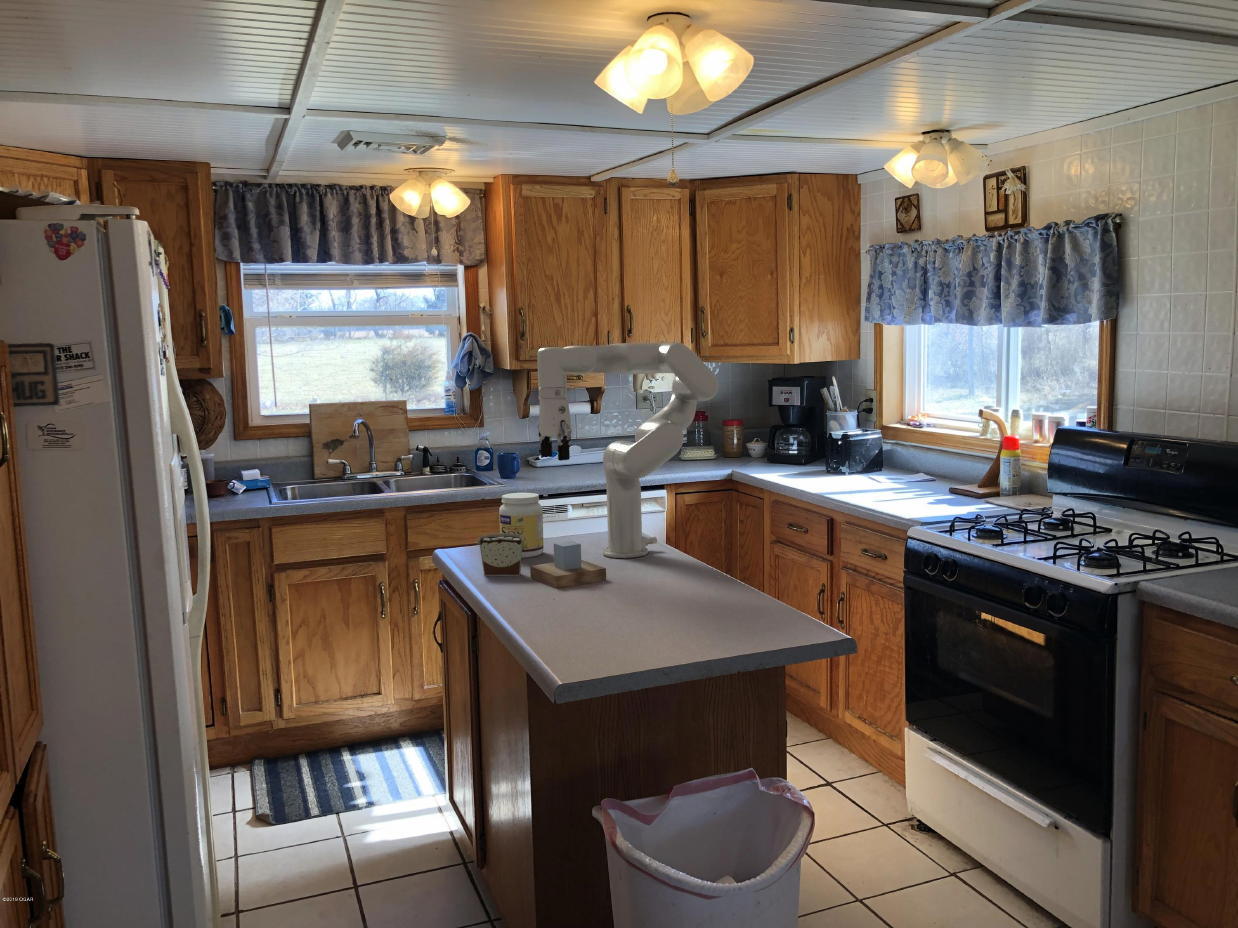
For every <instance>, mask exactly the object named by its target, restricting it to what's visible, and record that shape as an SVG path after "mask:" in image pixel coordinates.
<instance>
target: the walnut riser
mask: <svg viewBox="0 0 1238 928" xmlns="http://www.w3.org/2000/svg"><path fill="white" fill-rule="evenodd" d="M581 566H582V567H581V568H575V569H569V570H562V569H559V568H557V567H554V562H549V563H542V564H536V565H535V564H534V565H530V566H529V567H530V569H529V571H530V572H529V574H530V579H533V580H535V581H537V582H539V583H542V584H545V585H547V586H549V587H553V588H554V589H562V588H567V587H572V586H573V587H574V586H579V585H584V584H591V583H596V582H597V583H598V582H602V581H607V568H606V567H605V566H601V565H598V564H595V563H592V562H590V561H587V560H583V559H581Z"/></svg>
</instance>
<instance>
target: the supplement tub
mask: <svg viewBox="0 0 1238 928" xmlns="http://www.w3.org/2000/svg"><path fill="white" fill-rule="evenodd" d="M539 501H540V495H539V493H533V492H512V493H505V494H503V495H501V503H502V505H500V507H499V509H498V510H499V511H498V515H499V517H498V518H499V519H498V520H499V533H512V534H519V535H522V537H523V538H524V542H525V545H524V543H522V559H526V558H527V559H528V558H533V557H538V556H540V555H541V554H543V552H544V550H545V549H544V548H545V547H544V515H543V511H544V509H543V506H542V504H541V503H539Z"/></svg>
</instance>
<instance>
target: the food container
mask: <svg viewBox="0 0 1238 928" xmlns="http://www.w3.org/2000/svg"><path fill="white" fill-rule="evenodd" d="M522 543H524V545H525V542H524V538H523V537H522V535H519V534H512V533H500V532H499V533H491V534H486V535H485V534H484V535H481V536H480V537H478V539H477V545H476V546H479V550H480V556H481V562H482V563H481V565H482V570H483V577H495V576H496V577H499V576H500V577H521V574H522V573H521V572H522V559H523V558H522Z"/></svg>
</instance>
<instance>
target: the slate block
mask: <svg viewBox="0 0 1238 928" xmlns="http://www.w3.org/2000/svg"><path fill="white" fill-rule="evenodd" d="M581 560H582V545H581V543H580V542H576V541H573V540H566V541H559V542H553V561H554V567H557V568H559V569H562V570H569V569H575V568H581V567H582V566H581Z"/></svg>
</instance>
